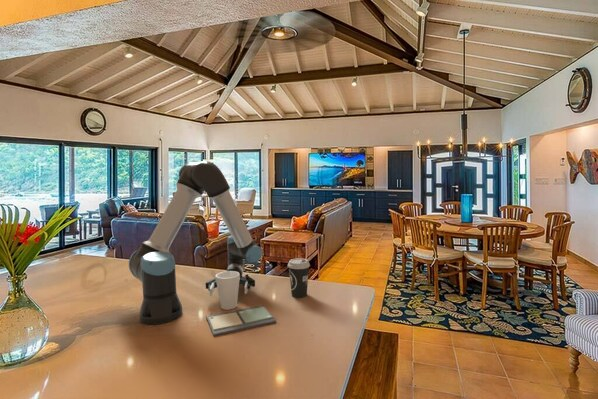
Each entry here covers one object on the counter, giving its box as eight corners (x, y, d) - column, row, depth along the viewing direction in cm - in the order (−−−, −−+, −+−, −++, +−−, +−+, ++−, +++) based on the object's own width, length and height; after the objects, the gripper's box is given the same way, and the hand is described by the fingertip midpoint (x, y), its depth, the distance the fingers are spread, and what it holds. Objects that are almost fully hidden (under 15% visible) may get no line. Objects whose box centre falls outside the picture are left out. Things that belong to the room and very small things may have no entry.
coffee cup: (301, 301, 142) (300, 265, 140) (283, 296, 147) (282, 261, 146) (314, 293, 149) (314, 260, 148) (297, 289, 155) (296, 256, 153)
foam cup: (215, 303, 141) (214, 272, 139) (238, 300, 144) (237, 269, 143) (218, 312, 132) (217, 279, 130) (242, 308, 135) (241, 276, 134)
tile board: (213, 336, 114) (213, 332, 114) (206, 318, 127) (206, 315, 127) (276, 322, 123) (276, 319, 123) (263, 307, 136) (262, 304, 136)
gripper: (261, 280, 157) (260, 299, 136) (206, 283, 156) (196, 302, 135) (261, 264, 157) (259, 280, 136) (205, 267, 155) (195, 283, 134)
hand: (228, 291), depth 135 cm, fingers open, 13 cm apart
